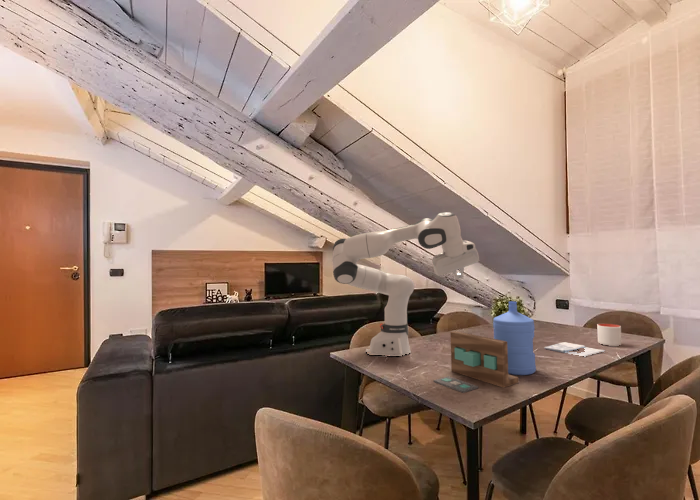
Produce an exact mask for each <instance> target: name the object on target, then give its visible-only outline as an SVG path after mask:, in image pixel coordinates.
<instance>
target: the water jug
mask: <svg viewBox="0 0 700 500" xmlns="http://www.w3.org/2000/svg"><path fill="white" fill-rule="evenodd" d="M517 303H518V302H517V301H515V300H514V301H512V300H511V301H508V311H507V312H504V313H502V314H500V315H498V316H495V317H493V320H492V321H493V322H492V326H493V327H492V328H493V339H497V340H502V341H507V349H508V374H509V375H512V376H529V375H532V374H534V373H536V370H537V368H536V367H537V365H536V354H535V352H534V343H533V342H534V338H535V320H534V319H533V318H531V317H528V316H527V315H525V314H522V313H520V312H519V311H518V309H517V308H518V305H517Z"/></svg>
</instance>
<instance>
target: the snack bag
mask: <svg viewBox="0 0 700 500" xmlns="http://www.w3.org/2000/svg"><path fill="white" fill-rule="evenodd" d="M543 348H544V350H548V351H553V352H558V353H562V354H565V353H568V354H567V355H571V354H573V355H572V356H575V355H579V356H578V357H580V356H584V357H583V358H587V357H586V356H588V355H592V354H596V353H599V352H604V351H606V352H607V350H605V349H600V348H599V349H597V348H592V347H587V346H586V345H584V344H577V343H570V342H566V341H564V342H559V343H555V344H552V345H551V344H550V345H548V346H547V345H546V346H544V347H543ZM580 348H584V349H585V350H584V351H585V352H581V353H577V352H569V351H573V350H574V351H578V350H577V349H580ZM604 353H605V352H604ZM599 354H600V353H599ZM596 355H597V354H596ZM592 356H593V355H592ZM588 357H589V356H588Z"/></svg>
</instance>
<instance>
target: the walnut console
mask: <svg viewBox="0 0 700 500" xmlns="http://www.w3.org/2000/svg"><path fill="white" fill-rule="evenodd" d="M449 333H450V334H449V335H450V360H451V361H450V364H451V366H450V367H451V370H450V371H451V372H453V373H456V374H460V375H462V376H466V377H469V378H471V379H476V380H479V381H480V382H481V381H482V382H484V383H488V384H491V385H495V386H497V387H500V388H506V387H509V386H512V385H516V384H519V377H518V376H517V375H513V374H508V349H507V341H502V340H497V339H494V338H491V337H487V336H482V335H476V334H472V333H471V334H470V333H466V332H462V331H457V330H455V331H450V332H449ZM456 347H460V348H464V349H466V352H468V351H472V350H473V351H477V352H481V365H478V366H474V367H472V366H469V365H465V364H464V361H461V360H457V359H455V348H456ZM486 354H489V355H493V356H497V369H496V370H493V369H490V368H486V367H484V355H486Z"/></svg>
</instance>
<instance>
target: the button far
mask: <svg viewBox="0 0 700 500" xmlns="http://www.w3.org/2000/svg"><path fill="white" fill-rule="evenodd" d="M464 352H466V349H464V348H460V347H456V348H455V359H457V360H461V361H464V358H463V353H464Z"/></svg>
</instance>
